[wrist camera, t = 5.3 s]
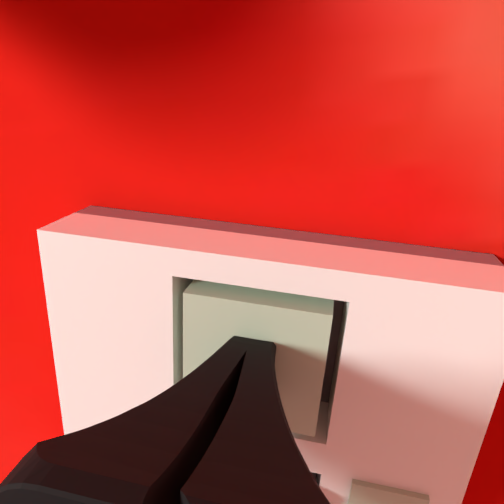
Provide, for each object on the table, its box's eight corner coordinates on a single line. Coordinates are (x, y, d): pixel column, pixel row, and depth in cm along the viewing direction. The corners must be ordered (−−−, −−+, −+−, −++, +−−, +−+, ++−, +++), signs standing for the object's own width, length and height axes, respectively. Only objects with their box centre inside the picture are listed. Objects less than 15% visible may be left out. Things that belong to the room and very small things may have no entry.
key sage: (201, 373, 16) (182, 410, 14) (203, 267, 14) (183, 292, 12) (318, 395, 15) (314, 437, 13) (334, 285, 14) (333, 315, 12)
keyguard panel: (120, 559, 23) (87, 627, 20) (90, 205, 16) (32, 231, 13) (383, 631, 21) (389, 720, 18) (493, 254, 13) (535, 300, 10)
